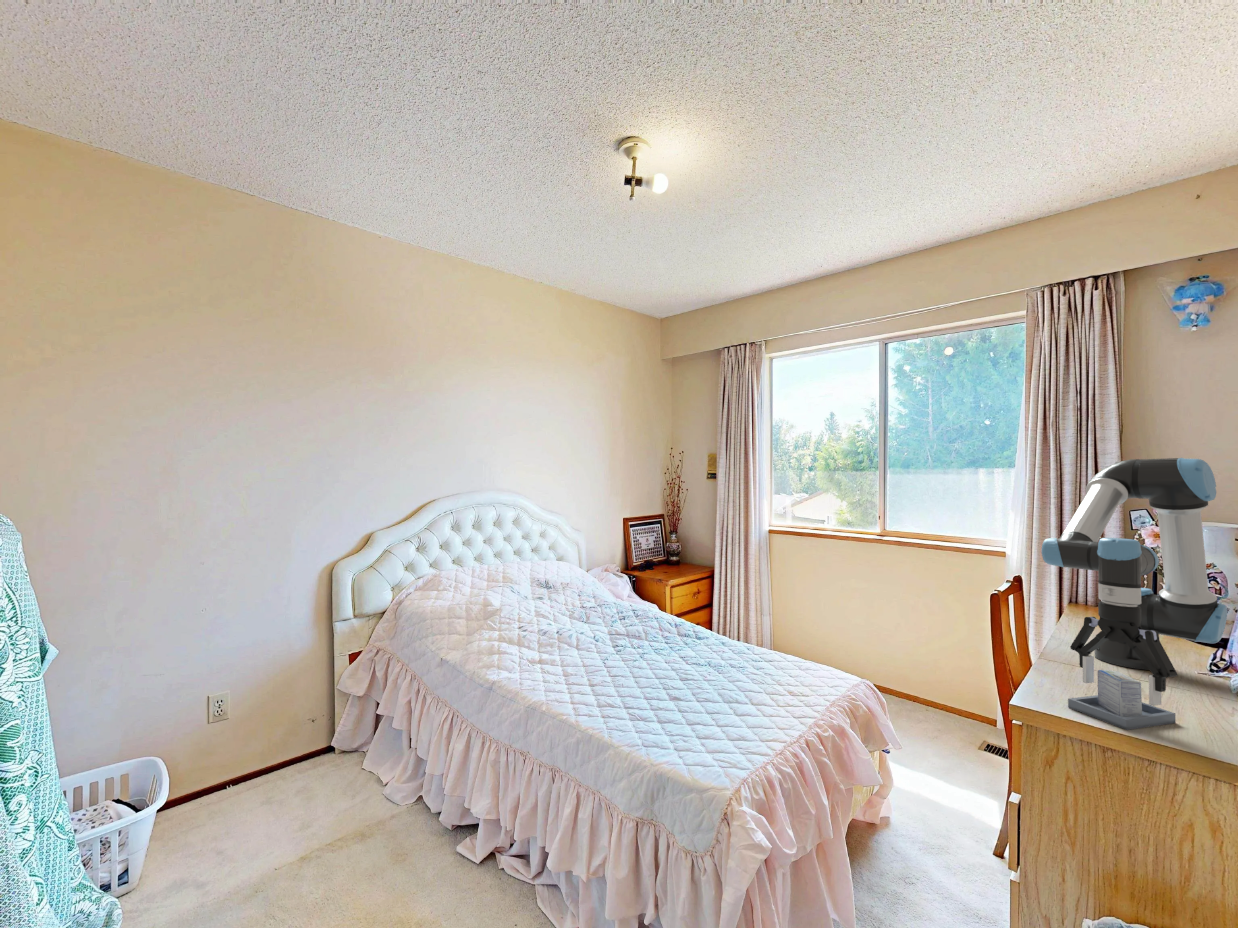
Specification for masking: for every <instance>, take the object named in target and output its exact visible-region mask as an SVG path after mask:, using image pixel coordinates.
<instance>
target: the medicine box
mask: <svg viewBox="0 0 1238 928" xmlns="http://www.w3.org/2000/svg"><path fill="white" fill-rule="evenodd" d="M1097 695H1098V704H1099V705H1100V706H1102V707H1104V708H1106V709H1107V710H1109V711H1111V712H1113V713H1114V714H1116V715H1118V716H1121V717H1124V718H1125V717H1133V716H1140V715H1142V702H1143V700H1142V699H1143V698H1142V683H1141V681H1140V680H1137V679H1135V678H1133V677H1131V676H1128V675H1126V674H1124V673H1123V672H1120V671H1118V670H1108V669H1097Z"/></svg>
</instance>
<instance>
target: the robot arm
mask: <svg viewBox="0 0 1238 928" xmlns="http://www.w3.org/2000/svg"><path fill="white" fill-rule="evenodd" d="M1216 488H1217V483H1216V478H1215V476H1214V472H1213V470H1212V468H1211V466H1210V465H1209V464H1208V462H1206V461H1205V460H1203V459H1200V458H1184V457H1178V458H1177V457H1175V458H1173V457H1169V458H1145V459H1144V458H1143V459H1142V458H1140V459H1139V458H1133V459H1132V458H1131V459H1125V460H1121V461H1119V462H1115V463H1113V464H1111V465H1109V466H1106V467H1105V468H1103V469H1101V470H1100V471H1099V472H1097V473H1096V474H1095V475H1094V476H1092V478H1090V480H1089V481H1088V483H1087V485H1086V486H1085V495H1084V498H1083V499H1082V500H1081V503H1080V504H1079V506H1078V508H1077V509H1076V511H1075V512H1074V514H1073V516H1072V517H1071V519H1070V520H1069V522H1068V524H1067V526H1066V527H1065V528H1064V530H1063V532H1062V534H1061V535H1060V537H1058V538H1057V537H1049V538H1045V539H1044V540H1043V542H1042V544H1041V557H1042V559H1043V561H1044V562H1045V564H1047V565H1049V566H1054V567H1055V566H1056V567H1061V568H1067V569H1076V570H1077V569H1078V570H1088V571H1095V572H1098V573H1097V574H1098V576H1097V577H1098V579H1097V581H1098V587H1097V588H1098V599H1099V600H1100V601H1099V602H1098V604H1097V605H1098V606H1097V607H1098V610H1097V611H1098V616H1099V619H1098V618H1096V617H1095V616H1085V617H1084V619H1083V625H1082V627H1081V629H1080V630H1079V631H1078V634H1077V635H1076V637H1075V638H1074V640H1073V641H1072V642H1071V644H1070V647H1069V648H1070V650H1071V651H1074V652H1077V653H1078V656H1079V664H1078V665H1079V668H1082V683H1084V684H1092V683H1095V658H1096V659H1098V661H1099V660H1100V661H1102V662H1106V663H1108V664H1111V665H1116V666H1120V667H1125V668H1129V669H1134V670H1135V669H1136V670H1145V671H1146V670H1147V671H1150V672H1151V674H1150V675H1148V704H1149V705H1152V706H1155V707H1156V706H1162V703H1163V702H1162V692H1163V693H1165V692H1166V690H1167V687H1166V686H1167V685H1166V684H1167V679H1166V678H1172V677H1177V676H1178V672H1177V671H1176V668H1175V667H1174V665H1173V663H1172V661H1171V659H1170V657H1169V656H1168V654H1167V652H1166V650H1165V648H1164V646H1163V645H1162V643H1161V641H1160V635H1162V636H1167V637H1172V638H1176V639H1182V640H1187V641H1192V642H1201V643H1205V644H1206V643H1207V644H1216V643H1218V642H1220V641H1221V639H1222V637H1223V634H1224V632H1225V629H1226V624H1227V618H1228V607H1227V605H1226V604H1224V603H1221V602H1219V603H1218V597H1217V595H1216V594H1215V593H1213V592H1212V591H1210V590H1209V584H1208V573H1207V572H1208V571H1207V562H1206V551H1205V541H1204V531H1203V521H1202V511H1203V510H1204V509H1206V508H1207V507H1208V506H1209V502H1211V501H1213V500H1215V499H1216V497H1217V489H1216ZM1128 499H1129V500H1130V499H1140V500H1141V499H1144V500H1148V504H1149V507H1150V508H1152V509H1153V510H1154V511H1156V512H1157V520H1158V530H1159V541H1160V548H1161V549H1160V550H1161V557H1162V558H1161V559H1162V567H1163V568H1162V569H1163V579H1164V588H1162V589H1161V590H1159V591H1158V594H1154V592H1153V589H1151V588H1147V587H1142V576H1146V575H1148V574H1151V573H1152V572H1154V571H1155V570H1156V569H1157V568H1158V566H1159V562H1160V560H1159V557H1158V554H1157V553H1156V552H1155V551H1154V550H1153V549H1152V548H1151V547H1149V546H1147V545H1143V544H1141V543H1140V541H1139V540H1137V539H1133V538H1132V539H1131V538H1123V537H1122V538H1120V537H1118V538H1117V537H1102V534H1104V532H1105V529H1106V527H1107V526H1108V524H1109V523H1110V520H1111V518H1112V517H1113V515H1114V513H1115V511H1116V510H1117V508H1118V507H1119V506H1120V505H1122V504H1124V503H1125V502H1126V501H1127V500H1128ZM1101 537H1102V538H1101ZM1096 627H1098V628H1099V629H1100V630H1101V631H1099V632H1098V633H1097V634H1095V636H1094V637H1093V638H1092V639H1091V640H1090V641H1088V640H1089V639H1090V637H1091V636H1092V634H1093V632H1094V631H1095V629H1096ZM1093 652H1094V655H1092V653H1093Z"/></svg>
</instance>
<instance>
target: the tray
mask: <svg viewBox="0 0 1238 928" xmlns="http://www.w3.org/2000/svg"><path fill="white" fill-rule="evenodd" d="M1067 701H1068V702H1067V704H1068V705H1067V706H1068V707H1069V709H1070V708H1071V710H1073V709H1074V711H1076V712H1078V711H1080V712H1079V713H1081V712H1082V713H1081V714H1083V713H1085V714H1084V715H1086V714H1087V715H1086V716H1089V715H1090V716H1089V717H1091V718H1094V717H1095V718H1094V719H1096V718H1097V720H1099V719H1100V720H1099V721H1102V722H1105V723H1107V724H1109V725H1113V726H1115V727H1118V728H1120V729H1123V730H1125V731H1128V730H1137V729H1142V728H1143V729H1144V728H1150V727H1158V726H1164V725H1171V724H1176V723H1177V722H1176V713H1175V712H1173V711H1169V710H1166V709H1163V708H1161V707H1157V706H1156V705H1155V706H1152V705H1149V703H1145V702H1143V701H1142V715H1140V716H1133V717H1125V718H1124V717H1121V716H1118V715H1116V714H1114V713H1113V712H1111V711H1109V710H1107V709H1106V708H1104V707H1102V706H1100V705H1099V704H1098V694H1096V695H1088V696H1080V697H1070V698H1068V699H1067ZM1068 707H1067V708H1068Z"/></svg>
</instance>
